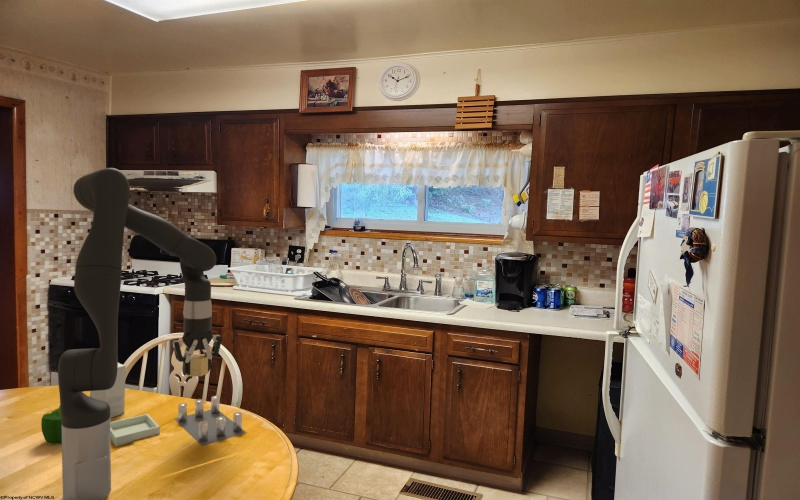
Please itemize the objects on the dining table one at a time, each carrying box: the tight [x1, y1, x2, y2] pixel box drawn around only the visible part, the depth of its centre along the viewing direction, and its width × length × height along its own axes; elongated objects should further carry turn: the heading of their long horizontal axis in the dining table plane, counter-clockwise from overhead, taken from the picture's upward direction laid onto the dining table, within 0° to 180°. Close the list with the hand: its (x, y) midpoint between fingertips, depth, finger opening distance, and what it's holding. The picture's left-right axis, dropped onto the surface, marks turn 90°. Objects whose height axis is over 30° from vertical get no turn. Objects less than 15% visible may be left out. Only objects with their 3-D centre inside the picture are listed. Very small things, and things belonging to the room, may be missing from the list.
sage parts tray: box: [110, 413, 161, 447], centre depth 143 cm, size 11×11×2 cm
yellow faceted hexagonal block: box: [188, 353, 209, 377], centre depth 146 cm, size 6×5×5 cm
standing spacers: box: [177, 395, 243, 442], centre depth 148 cm, size 18×12×5 cm
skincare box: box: [89, 362, 126, 419], centre depth 155 cm, size 8×7×16 cm
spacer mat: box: [174, 409, 247, 447], centre depth 149 cm, size 22×13×1 cm, turn 43°
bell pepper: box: [40, 405, 62, 445], centre depth 137 cm, size 8×8×10 cm
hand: (197, 372), depth 146 cm, fingers closed on yellow faceted hexagonal block, 5 cm apart
